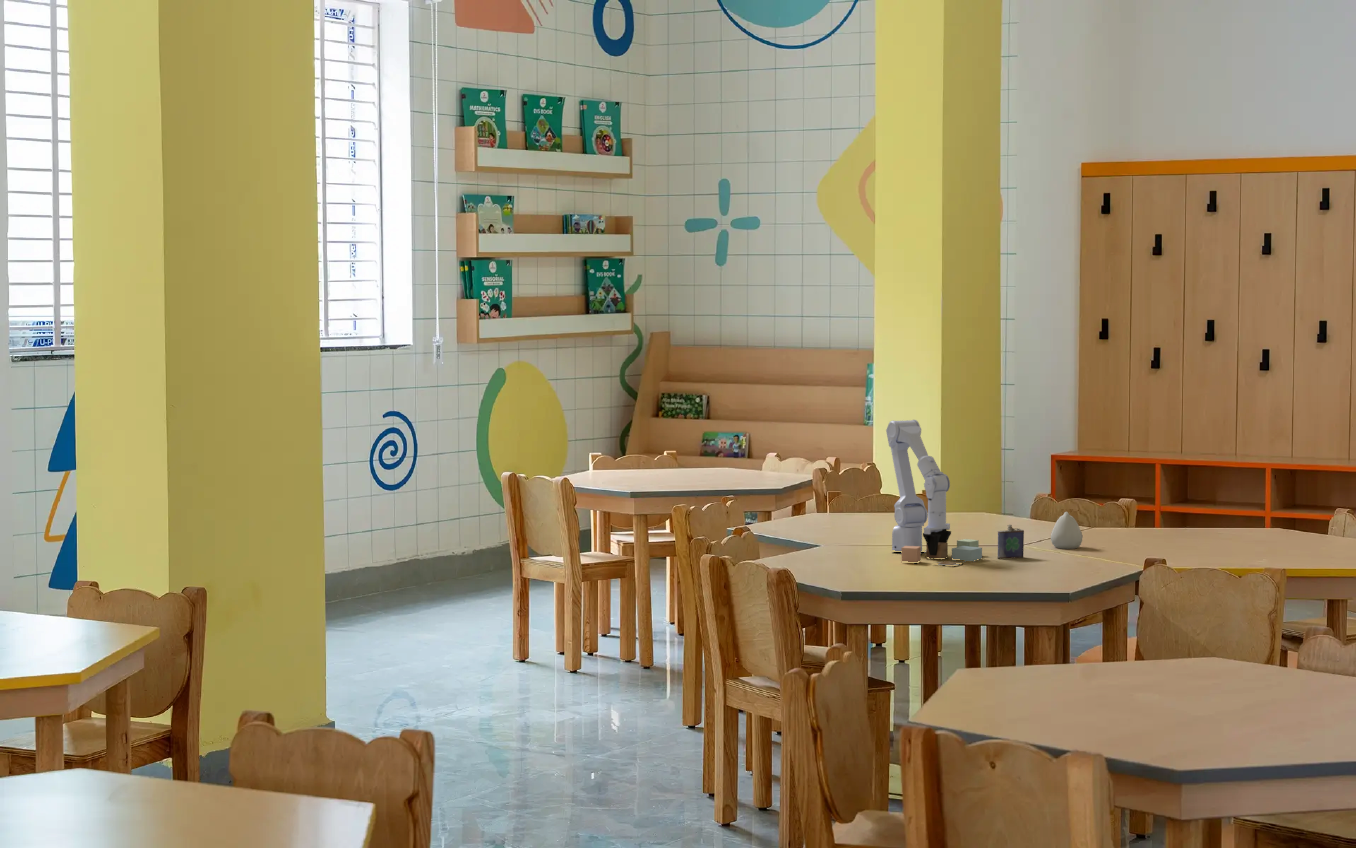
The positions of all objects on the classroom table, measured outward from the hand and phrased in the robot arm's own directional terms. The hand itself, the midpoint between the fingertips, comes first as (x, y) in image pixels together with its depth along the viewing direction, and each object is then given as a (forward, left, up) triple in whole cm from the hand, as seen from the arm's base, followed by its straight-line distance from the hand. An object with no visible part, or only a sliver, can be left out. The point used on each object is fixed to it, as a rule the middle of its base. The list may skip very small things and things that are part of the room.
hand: (937, 554), depth 467 cm
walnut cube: (0, 0, -1) cm, 1 cm away
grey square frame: (+9, -10, -1) cm, 14 cm away
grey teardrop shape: (+25, +46, -2) cm, 52 cm away
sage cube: (+5, +12, -2) cm, 13 cm away
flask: (+19, +14, -2) cm, 24 cm away
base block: (+9, +3, -2) cm, 10 cm away
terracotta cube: (-3, -12, -2) cm, 12 cm away
